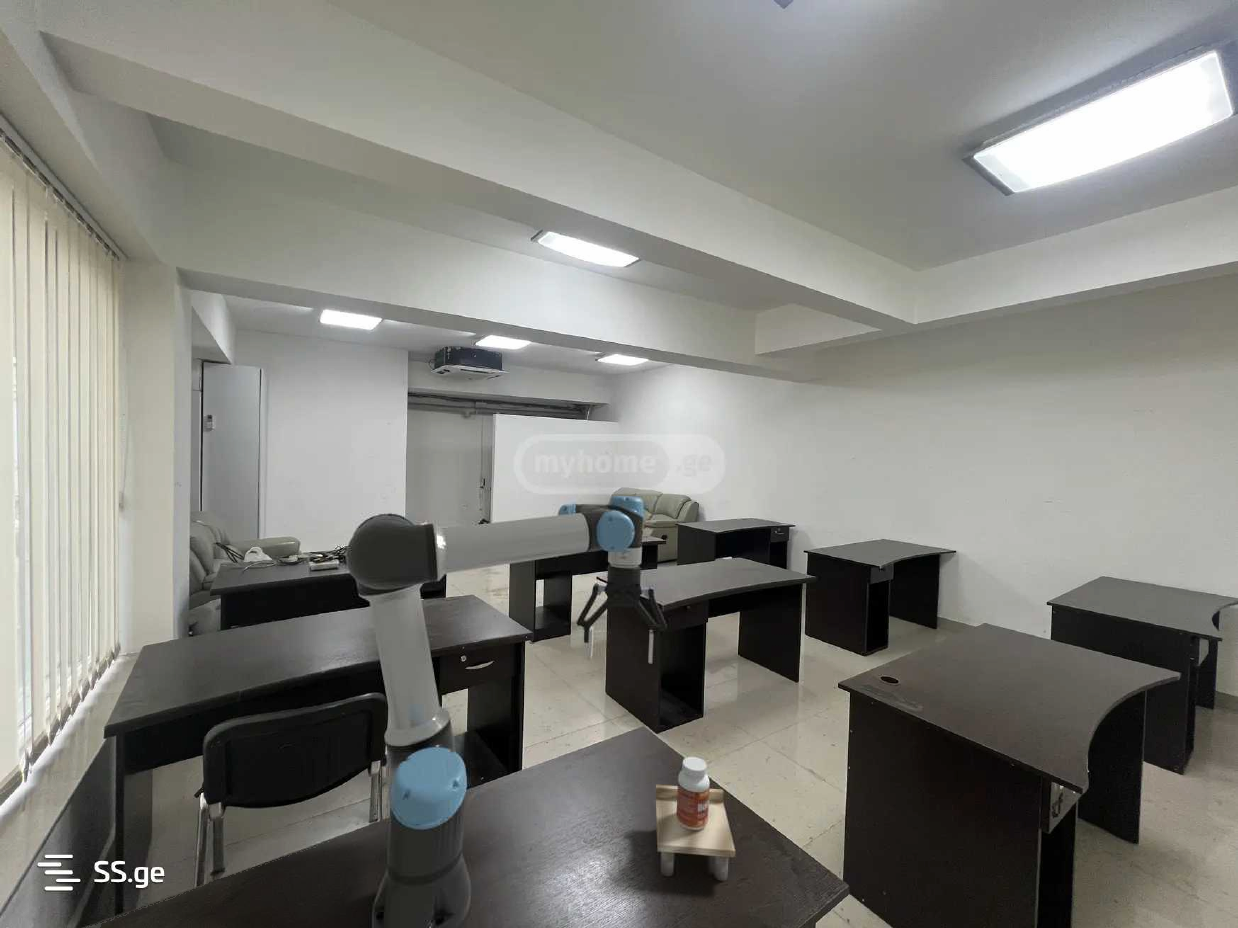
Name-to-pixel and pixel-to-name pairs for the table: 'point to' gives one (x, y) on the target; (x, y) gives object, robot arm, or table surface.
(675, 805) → the beige small table
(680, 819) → the pill bottle
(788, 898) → the table surface
